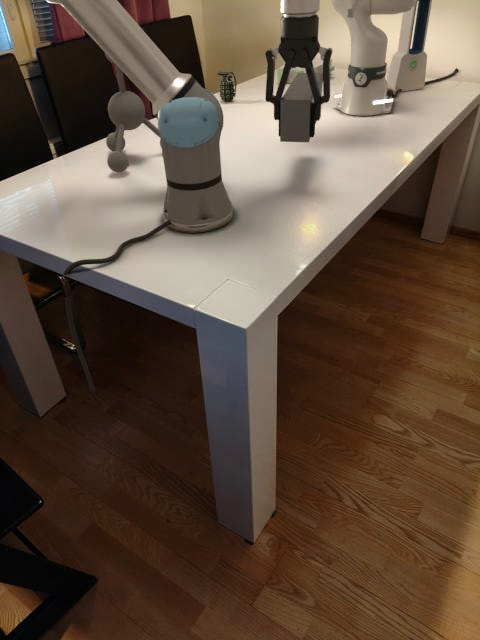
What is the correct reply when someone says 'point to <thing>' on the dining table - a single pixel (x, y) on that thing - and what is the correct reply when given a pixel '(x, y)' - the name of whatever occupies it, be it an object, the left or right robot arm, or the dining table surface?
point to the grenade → (227, 86)
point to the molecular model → (124, 122)
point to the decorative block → (303, 69)
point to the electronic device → (411, 50)
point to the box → (297, 109)
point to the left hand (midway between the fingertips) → (296, 134)
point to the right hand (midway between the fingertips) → (331, 17)
